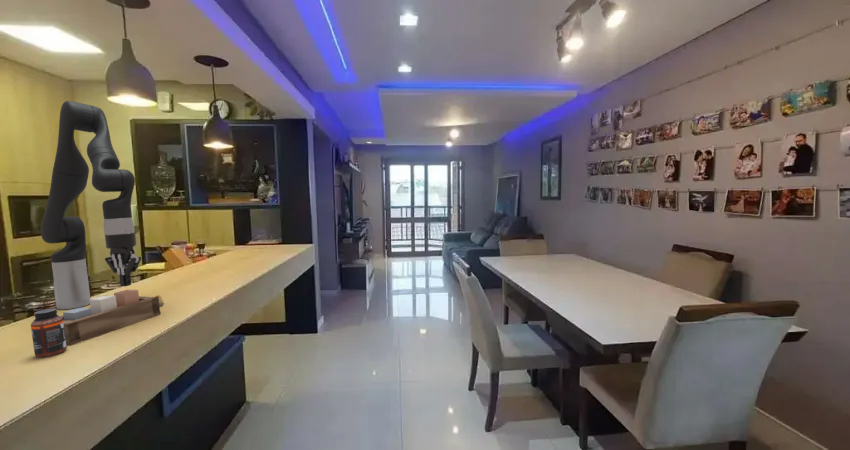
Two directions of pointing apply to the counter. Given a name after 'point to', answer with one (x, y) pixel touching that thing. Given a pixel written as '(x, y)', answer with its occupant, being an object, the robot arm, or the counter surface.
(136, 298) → the pink block
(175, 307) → the counter surface
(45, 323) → the supplement bottle
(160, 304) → the pastry
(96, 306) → the white block
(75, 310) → the slate key
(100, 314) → the brown wooden tray
